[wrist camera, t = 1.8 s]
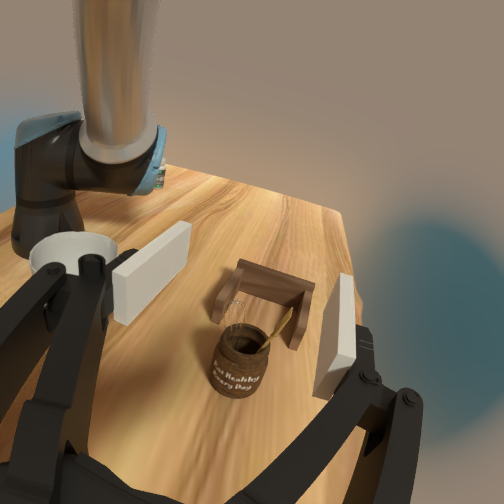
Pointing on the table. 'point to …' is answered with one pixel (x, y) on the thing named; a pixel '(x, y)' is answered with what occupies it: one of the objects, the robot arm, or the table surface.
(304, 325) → the walnut corral
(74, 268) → the teacup
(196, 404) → the table surface
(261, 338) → the utensil holder
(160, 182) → the pill bottle
